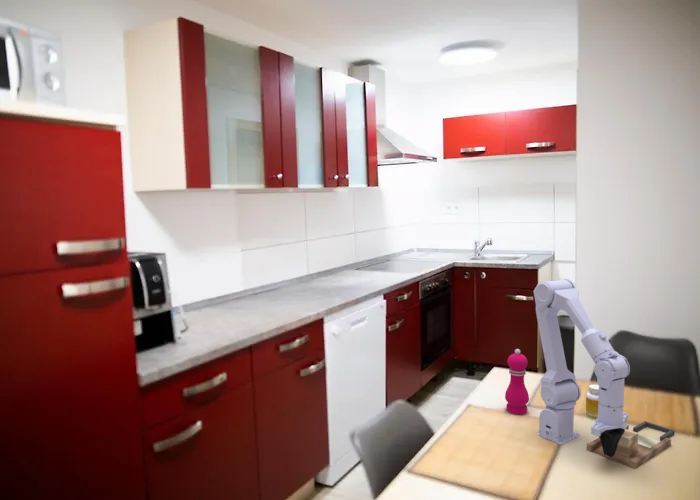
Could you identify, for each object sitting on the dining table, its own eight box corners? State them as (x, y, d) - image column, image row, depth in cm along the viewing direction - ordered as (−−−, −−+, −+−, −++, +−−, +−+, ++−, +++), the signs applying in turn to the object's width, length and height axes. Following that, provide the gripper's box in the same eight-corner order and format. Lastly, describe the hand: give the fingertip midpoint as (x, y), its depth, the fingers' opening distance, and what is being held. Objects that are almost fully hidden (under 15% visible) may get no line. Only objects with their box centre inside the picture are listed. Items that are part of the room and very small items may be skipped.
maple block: (628, 457, 136) (629, 438, 136) (609, 450, 140) (609, 431, 140) (637, 451, 139) (638, 433, 139) (618, 444, 143) (619, 426, 143)
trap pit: (662, 442, 145) (663, 437, 144) (633, 432, 151) (633, 427, 151) (674, 435, 149) (674, 430, 149) (644, 426, 155) (644, 421, 155)
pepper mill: (531, 415, 164) (533, 352, 162) (508, 415, 164) (509, 352, 162) (524, 406, 171) (525, 345, 169) (502, 406, 171) (502, 345, 169)
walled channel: (634, 470, 131) (634, 462, 131) (586, 451, 141) (586, 444, 141) (670, 446, 143) (671, 439, 142) (624, 430, 152) (624, 423, 152)
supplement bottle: (602, 423, 158) (603, 391, 157) (583, 418, 161) (584, 387, 160) (606, 416, 162) (607, 386, 161) (587, 412, 165) (588, 382, 164)
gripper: (611, 416, 127) (609, 470, 128) (641, 401, 135) (639, 452, 136) (583, 406, 132) (582, 458, 134) (613, 393, 141) (611, 442, 142)
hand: (609, 454), depth 135 cm, fingers closed
